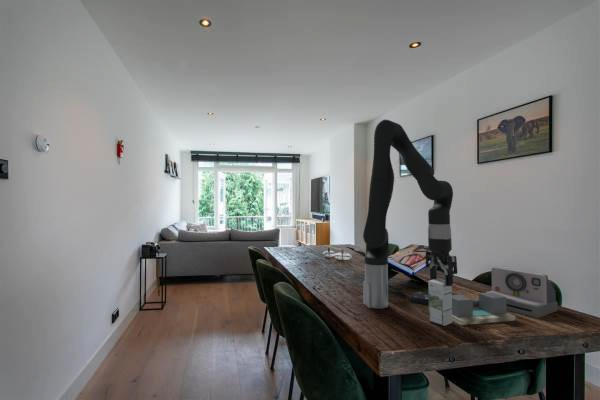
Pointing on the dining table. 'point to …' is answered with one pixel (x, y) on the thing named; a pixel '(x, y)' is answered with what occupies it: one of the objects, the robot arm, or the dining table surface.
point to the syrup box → (440, 302)
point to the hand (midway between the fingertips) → (441, 283)
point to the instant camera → (524, 291)
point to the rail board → (480, 309)
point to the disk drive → (420, 298)
